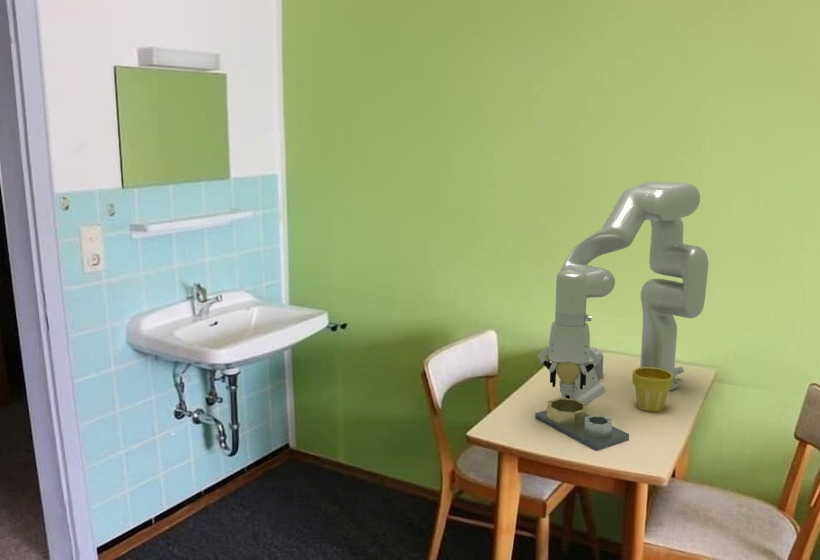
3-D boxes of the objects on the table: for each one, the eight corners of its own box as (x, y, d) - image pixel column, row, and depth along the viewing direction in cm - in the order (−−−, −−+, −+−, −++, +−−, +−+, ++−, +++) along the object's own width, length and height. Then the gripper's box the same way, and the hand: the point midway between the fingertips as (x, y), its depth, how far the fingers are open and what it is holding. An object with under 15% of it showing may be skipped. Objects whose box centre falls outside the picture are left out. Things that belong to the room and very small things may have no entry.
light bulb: (566, 400, 176) (567, 362, 174) (549, 392, 181) (550, 355, 179) (585, 395, 179) (586, 358, 177) (568, 387, 184) (569, 351, 182)
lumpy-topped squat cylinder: (560, 379, 212) (561, 352, 210) (576, 366, 223) (577, 340, 221) (593, 385, 207) (594, 357, 205) (608, 372, 217) (609, 346, 215)
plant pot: (674, 404, 192) (677, 370, 190) (666, 417, 183) (668, 382, 181) (636, 397, 197) (638, 364, 195) (626, 409, 189) (628, 375, 187)
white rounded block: (580, 409, 189) (569, 374, 189) (565, 411, 192) (554, 376, 192) (606, 391, 202) (596, 358, 202) (591, 393, 205) (581, 360, 205)
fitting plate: (566, 409, 190) (566, 393, 189) (628, 439, 171) (629, 422, 170) (535, 418, 184) (535, 402, 183) (596, 450, 166) (596, 433, 165)
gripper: (605, 317, 177) (602, 384, 181) (536, 313, 181) (534, 378, 185) (606, 325, 170) (602, 394, 174) (534, 321, 174) (532, 389, 178)
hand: (567, 385), depth 180 cm, fingers closed on light bulb, 6 cm apart
